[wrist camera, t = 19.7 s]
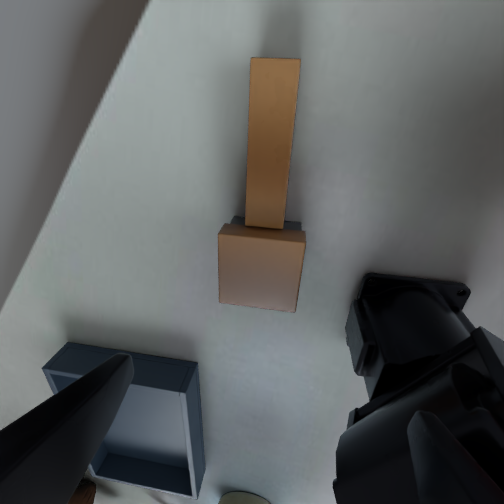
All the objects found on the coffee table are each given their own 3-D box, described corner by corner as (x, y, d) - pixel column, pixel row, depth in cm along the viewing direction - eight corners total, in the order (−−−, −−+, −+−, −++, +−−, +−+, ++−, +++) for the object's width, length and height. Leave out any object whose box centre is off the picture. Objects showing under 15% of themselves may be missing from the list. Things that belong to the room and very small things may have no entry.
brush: (232, 63, 14) (214, 51, 11) (327, 66, 14) (334, 54, 11) (230, 274, 20) (218, 303, 17) (296, 282, 20) (295, 313, 17)
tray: (197, 362, 25) (185, 393, 23) (205, 468, 34) (197, 500, 32) (67, 341, 27) (41, 368, 24) (107, 448, 36) (91, 476, 33)
